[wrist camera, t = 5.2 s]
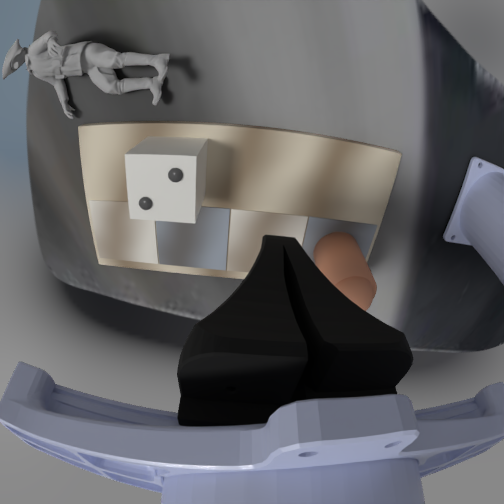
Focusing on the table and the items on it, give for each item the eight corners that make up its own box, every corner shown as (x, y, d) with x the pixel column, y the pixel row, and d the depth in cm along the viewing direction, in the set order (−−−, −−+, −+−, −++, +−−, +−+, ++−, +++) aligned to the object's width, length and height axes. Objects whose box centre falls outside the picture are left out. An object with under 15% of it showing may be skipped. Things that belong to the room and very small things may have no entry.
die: (207, 138, 18) (196, 156, 15) (205, 194, 20) (194, 224, 17) (148, 136, 18) (123, 154, 14) (149, 191, 20) (129, 219, 17)
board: (397, 150, 19) (402, 154, 18) (355, 281, 26) (357, 287, 25) (83, 124, 18) (77, 126, 17) (102, 258, 24) (98, 264, 24)
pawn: (363, 234, 22) (391, 289, 17) (350, 271, 24) (371, 329, 19) (318, 229, 22) (337, 287, 16) (309, 268, 24) (321, 328, 18)
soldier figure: (154, 129, 19) (5, 131, 15) (161, 79, 20) (23, 80, 15) (172, 58, 12) (-31, 70, 8) (182, 6, 13) (3, 14, 8)
